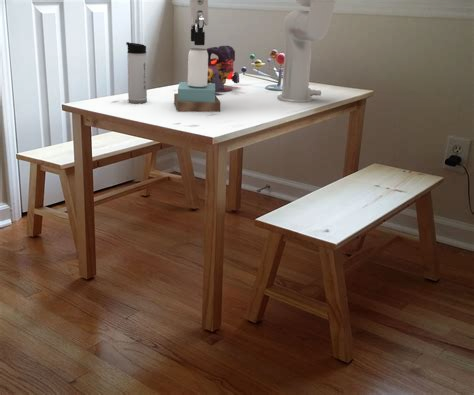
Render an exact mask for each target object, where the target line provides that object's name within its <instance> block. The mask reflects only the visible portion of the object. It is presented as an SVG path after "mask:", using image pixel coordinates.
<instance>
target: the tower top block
mask: <svg viewBox="0 0 474 395" xmlns="http://www.w3.org/2000/svg"><path fill="white" fill-rule="evenodd" d="M177 94H178V101H185V102H214V103H215V95H216V92H215V83H207V86H206V87H190V86H189V85H188V81H187V82H185V81H183V82H181V81H180V82H179V84H178V87H177Z"/></svg>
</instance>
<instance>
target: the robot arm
mask: <svg viewBox="0 0 474 395" xmlns="http://www.w3.org/2000/svg"><path fill="white" fill-rule="evenodd" d="M295 1H296V3H297V4H298V5H299V6H301V7H305V8H309V9H308V10H303V9H295V10H292V11H291V12H289V13H288V14H287V15H286V16H285V18H284V21H283V34H284V56H283V71H282V85H281V88H282V89H281V93H280V94H278V95H277V97H276V98H277V100H278V101H280V102H285V103H290V104H291V103H292V104H294V103H295V104H304V103H305V104H306V103H311V102H312V101H313V98H312V97H313V96H315V97H319V96H321V95H322V91H321V90H316V89H311V88H310V87H309V86H310V74H311V73H310V72H311V61H312V45H311V42H319V41H321V40H322V39H324V38H325V36H326V35H327V33H328V31H329V28H330V25H331V21H332V18H333V14H334V10H335V4H336V1H337V0H295ZM189 21H190V23H191V24H190V25H191V26H190V27H191V28H190V41H191V42H193V44H194V46H205V44H206V43H205V40H206V38H205V37H206V36H205V35H206V32H205V26H208V25H209V0H189Z"/></svg>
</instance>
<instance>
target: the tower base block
mask: <svg viewBox="0 0 474 395" xmlns="http://www.w3.org/2000/svg"><path fill="white" fill-rule="evenodd" d="M173 94H174V96H173V99H174V100H173V104H174V107H175V109H176V112H177V113H183V112H184V113H189V112H190V113H191V112H192V113H194V112H195V113H196V112H198V113H201V112H202V113H209V112H210V113H213V112H214V113H215V112H217V113H220V112H221V101H220V100H219V99H218V97H217V95H216V94H215V103H214V102H185V101H178V93H173Z"/></svg>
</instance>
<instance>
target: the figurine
mask: <svg viewBox="0 0 474 395" xmlns="http://www.w3.org/2000/svg"><path fill="white" fill-rule="evenodd" d="M206 49H207V53H208V78H207V83H215V93H230V92H232V91H233V87H232V86H230V85H226V82H227V80H228V81H229V80H231V82H233V83H234V84H238V83H240V73H239V72H238V71H235V68H234V62H235V60H236V50H235V49H234V47H232V46H231V45H220V46H213V47H212V46H211V47H208V48H206ZM212 54H213V55H215V56H217V57H215V58H214V57H213V58H212ZM234 71H235V72H234Z"/></svg>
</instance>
